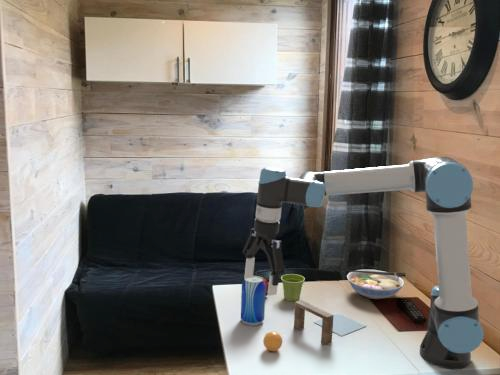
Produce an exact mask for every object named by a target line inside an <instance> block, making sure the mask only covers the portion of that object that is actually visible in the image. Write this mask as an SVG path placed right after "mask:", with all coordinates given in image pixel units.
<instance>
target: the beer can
mask: <svg viewBox="0 0 500 375" xmlns="http://www.w3.org/2000/svg"><path fill="white" fill-rule="evenodd" d="M263 278H264V277H263ZM263 278H262V276H260V275H259V276H258V275H253V278H246V279H245V278H244V280H243V282H242V283H241V295H240V298H241V299H240V300H241V301H240V320H241V321H242V322H243V324H244V325H247V326H252V327H253V326H259V325H261V324H262V323H263V321H264V320H265V311H266V310H265V309H266V308H265V307H266V296H265V288H266V285H265V283H264V281H263Z"/></svg>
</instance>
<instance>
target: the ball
mask: <svg viewBox="0 0 500 375" xmlns="http://www.w3.org/2000/svg"><path fill="white" fill-rule="evenodd" d="M263 346H264V347H265V349H266V350H268V351H269V352H276V351H279V350H280V349H281V347H282V346H283V337H282V336H281V335H280V334H279V332H277V331H270V332H267V333H265V335H264V337H263Z"/></svg>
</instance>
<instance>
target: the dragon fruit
mask: <svg viewBox="0 0 500 375" xmlns="http://www.w3.org/2000/svg"><path fill="white" fill-rule="evenodd" d="M261 277H262V276H261ZM262 278H263V281H264V283H265V285H266V288H265V297H268V296H269V295H268V286H269V281H268V280H266V279H265V277H262Z"/></svg>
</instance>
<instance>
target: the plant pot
mask: <svg viewBox="0 0 500 375" xmlns="http://www.w3.org/2000/svg"><path fill="white" fill-rule="evenodd" d="M280 279H281V282H282V289H283V298H284V300H286V301H288V302H297V301H300V300H301V299H300V298H301V293H302V289H303V285H304V282H305V279H306V278H305V277H304V276H303V275H301V274H298V273H297V274H295V273H288V274H287V273H286V274H284V275H281V277H280Z"/></svg>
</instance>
